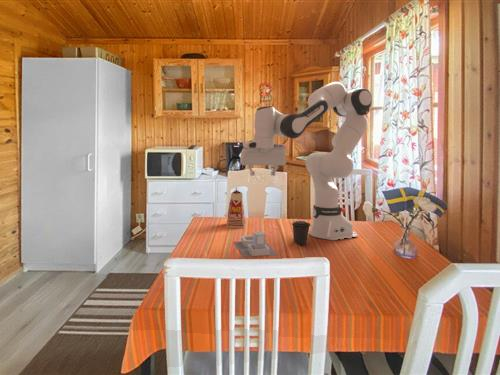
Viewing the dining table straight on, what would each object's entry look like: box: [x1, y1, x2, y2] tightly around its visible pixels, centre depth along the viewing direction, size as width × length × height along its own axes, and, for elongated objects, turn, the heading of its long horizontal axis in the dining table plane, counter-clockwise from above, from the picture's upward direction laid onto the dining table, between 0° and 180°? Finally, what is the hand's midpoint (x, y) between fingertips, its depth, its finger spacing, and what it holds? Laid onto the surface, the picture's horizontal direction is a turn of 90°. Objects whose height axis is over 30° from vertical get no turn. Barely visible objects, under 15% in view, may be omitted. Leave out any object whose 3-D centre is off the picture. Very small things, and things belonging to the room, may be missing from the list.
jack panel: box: [233, 235, 279, 258], centre depth 165 cm, size 14×20×4 cm
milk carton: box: [226, 187, 246, 229], centre depth 203 cm, size 9×9×20 cm
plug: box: [252, 231, 266, 249], centre depth 159 cm, size 4×5×8 cm
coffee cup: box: [291, 220, 311, 247], centre depth 175 cm, size 8×8×10 cm
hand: (262, 175), depth 177 cm, fingers open, 8 cm apart
